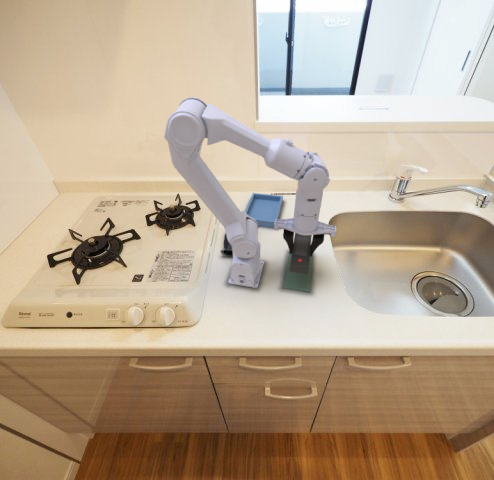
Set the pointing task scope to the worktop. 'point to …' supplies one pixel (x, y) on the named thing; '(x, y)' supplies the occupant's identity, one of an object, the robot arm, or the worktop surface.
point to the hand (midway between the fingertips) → (301, 252)
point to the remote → (300, 254)
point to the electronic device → (227, 248)
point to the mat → (297, 278)
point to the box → (264, 208)
